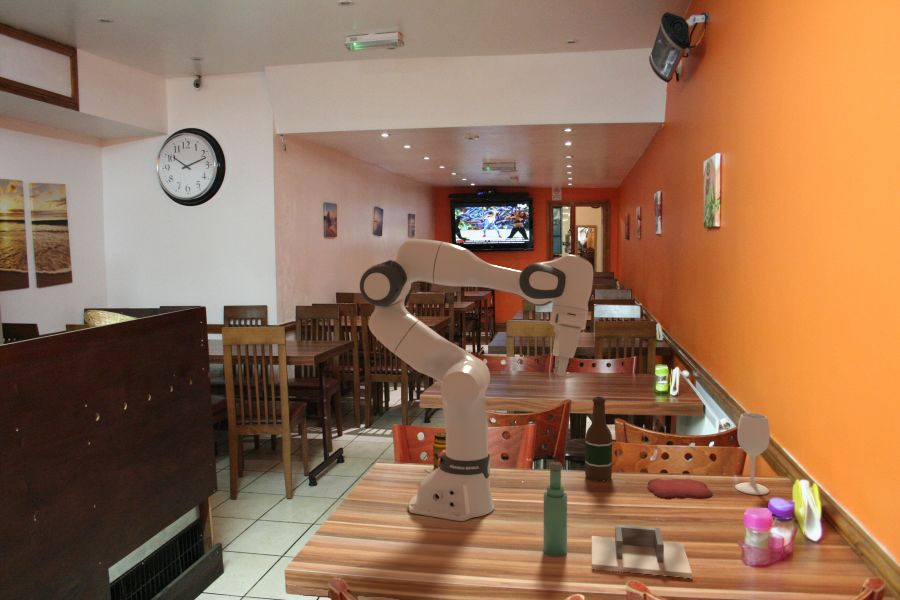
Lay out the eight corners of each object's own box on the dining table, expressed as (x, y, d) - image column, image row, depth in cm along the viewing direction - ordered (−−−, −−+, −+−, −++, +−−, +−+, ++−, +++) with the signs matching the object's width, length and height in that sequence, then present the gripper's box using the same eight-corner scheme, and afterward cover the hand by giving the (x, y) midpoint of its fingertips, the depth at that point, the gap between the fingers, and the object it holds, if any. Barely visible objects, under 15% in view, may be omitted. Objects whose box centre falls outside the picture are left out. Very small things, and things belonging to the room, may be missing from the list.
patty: (654, 500, 176) (654, 493, 176) (641, 482, 190) (641, 475, 190) (719, 501, 176) (719, 494, 175) (701, 483, 189) (701, 476, 189)
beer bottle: (612, 482, 189) (613, 401, 187) (585, 481, 190) (585, 400, 189) (611, 473, 196) (612, 395, 195) (584, 472, 198) (585, 394, 196)
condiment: (440, 478, 194) (439, 438, 193) (424, 470, 200) (424, 432, 200) (460, 473, 198) (459, 434, 197) (444, 466, 205) (443, 428, 204)
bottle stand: (591, 569, 137) (591, 545, 137) (591, 540, 151) (591, 519, 150) (691, 578, 133) (692, 554, 133) (682, 548, 147) (682, 526, 146)
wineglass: (730, 484, 187) (731, 412, 185) (760, 484, 187) (762, 412, 185) (742, 495, 178) (744, 419, 177) (774, 495, 178) (777, 419, 176)
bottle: (542, 555, 144) (542, 467, 142) (544, 545, 149) (544, 459, 147) (566, 557, 143) (566, 468, 141) (567, 547, 148) (567, 461, 146)
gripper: (552, 320, 172) (543, 371, 172) (559, 315, 152) (549, 374, 151) (576, 324, 172) (567, 376, 171) (586, 320, 152) (576, 379, 151)
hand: (559, 375), depth 161 cm, fingers open, 8 cm apart
